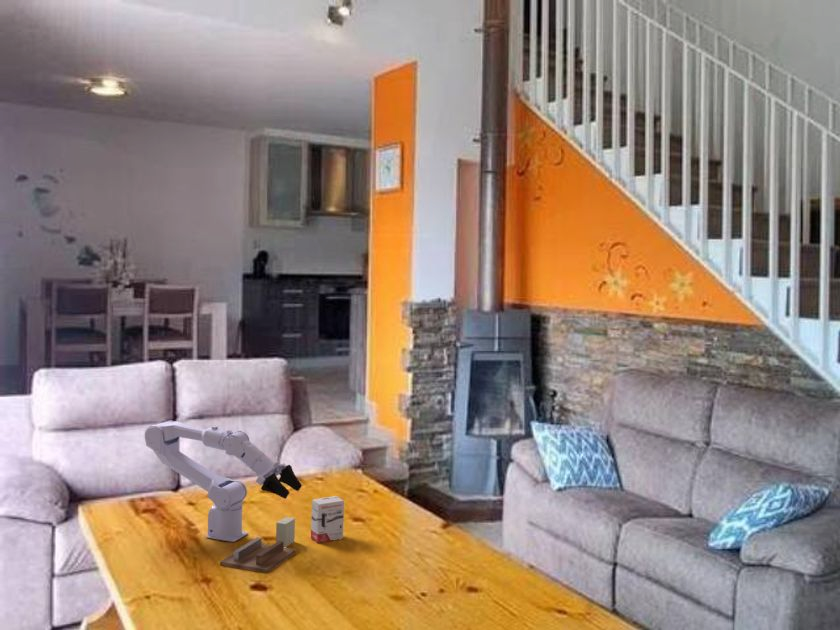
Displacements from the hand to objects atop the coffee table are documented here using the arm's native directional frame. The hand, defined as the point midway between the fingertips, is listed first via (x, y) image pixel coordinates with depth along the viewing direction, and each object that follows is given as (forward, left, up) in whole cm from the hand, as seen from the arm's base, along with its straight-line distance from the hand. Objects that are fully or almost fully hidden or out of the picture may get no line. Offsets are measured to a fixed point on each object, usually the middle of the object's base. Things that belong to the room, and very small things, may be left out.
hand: (293, 492), depth 223 cm
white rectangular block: (-3, +1, -16) cm, 16 cm away
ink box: (+6, +10, -16) cm, 20 cm away
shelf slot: (-4, -12, -16) cm, 20 cm away
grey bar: (-7, -12, -16) cm, 21 cm away
